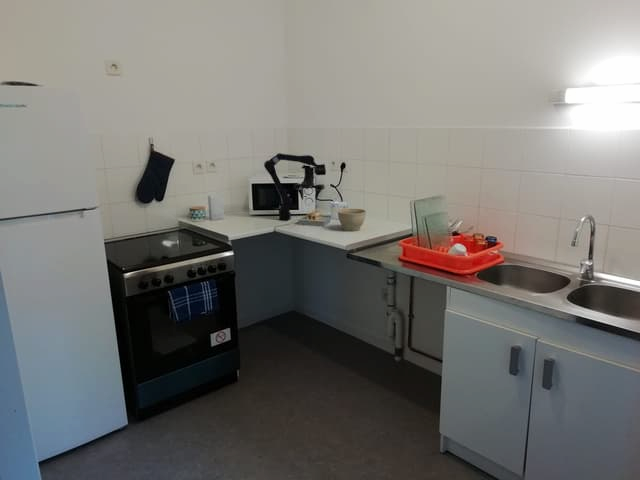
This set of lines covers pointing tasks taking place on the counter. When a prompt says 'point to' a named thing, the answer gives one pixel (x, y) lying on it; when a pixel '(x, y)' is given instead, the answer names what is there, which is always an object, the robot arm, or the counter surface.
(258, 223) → the counter surface
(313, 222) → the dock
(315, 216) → the pallet
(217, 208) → the skincare box
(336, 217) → the light bulb box
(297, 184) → the robot arm
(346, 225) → the planter bowl
